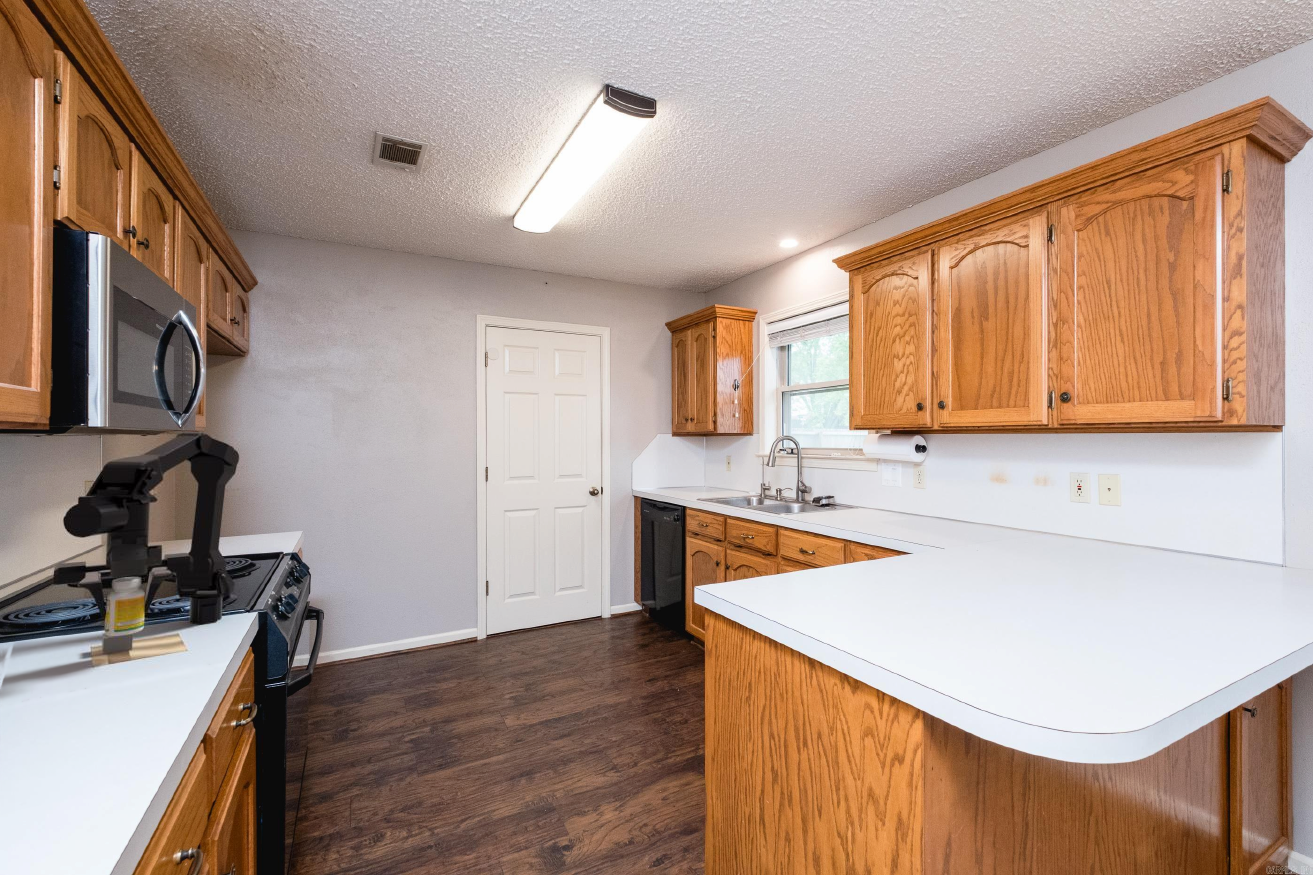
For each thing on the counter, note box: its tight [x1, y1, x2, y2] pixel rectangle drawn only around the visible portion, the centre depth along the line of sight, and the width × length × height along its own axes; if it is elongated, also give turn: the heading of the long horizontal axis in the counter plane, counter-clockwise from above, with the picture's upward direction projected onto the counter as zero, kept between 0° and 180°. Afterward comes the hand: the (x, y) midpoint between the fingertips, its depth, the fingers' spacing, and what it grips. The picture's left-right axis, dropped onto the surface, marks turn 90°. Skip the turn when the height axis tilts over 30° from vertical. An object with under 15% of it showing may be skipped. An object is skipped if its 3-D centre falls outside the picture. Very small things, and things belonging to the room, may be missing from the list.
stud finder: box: [101, 632, 134, 655], centre depth 111 cm, size 4×4×4 cm
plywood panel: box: [90, 633, 188, 668], centre depth 112 cm, size 14×13×1 cm
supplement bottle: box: [104, 576, 146, 636], centre depth 108 cm, size 5×5×10 cm
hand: (125, 614), depth 108 cm, fingers closed on supplement bottle, 5 cm apart
